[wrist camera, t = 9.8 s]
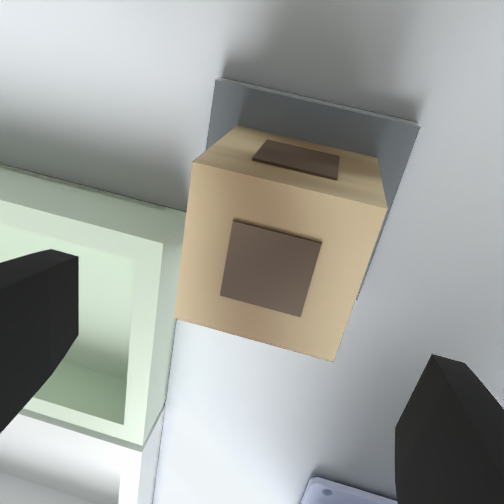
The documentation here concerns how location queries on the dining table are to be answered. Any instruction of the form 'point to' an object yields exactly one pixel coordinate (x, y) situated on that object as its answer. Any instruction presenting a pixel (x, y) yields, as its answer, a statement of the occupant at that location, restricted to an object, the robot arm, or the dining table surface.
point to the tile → (316, 127)
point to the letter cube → (278, 239)
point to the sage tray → (102, 297)
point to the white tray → (74, 463)
